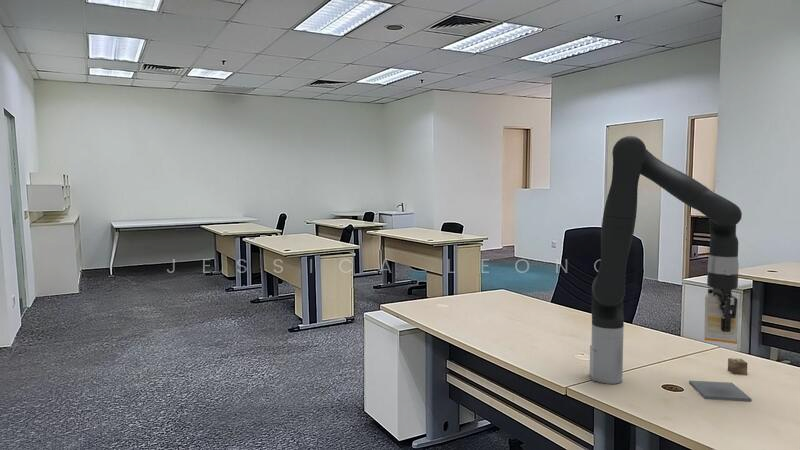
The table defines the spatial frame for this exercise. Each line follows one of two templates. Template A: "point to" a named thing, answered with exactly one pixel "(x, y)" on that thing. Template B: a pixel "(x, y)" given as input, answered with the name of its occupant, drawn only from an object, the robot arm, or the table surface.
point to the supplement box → (718, 322)
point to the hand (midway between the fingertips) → (720, 328)
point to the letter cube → (737, 366)
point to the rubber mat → (719, 390)
